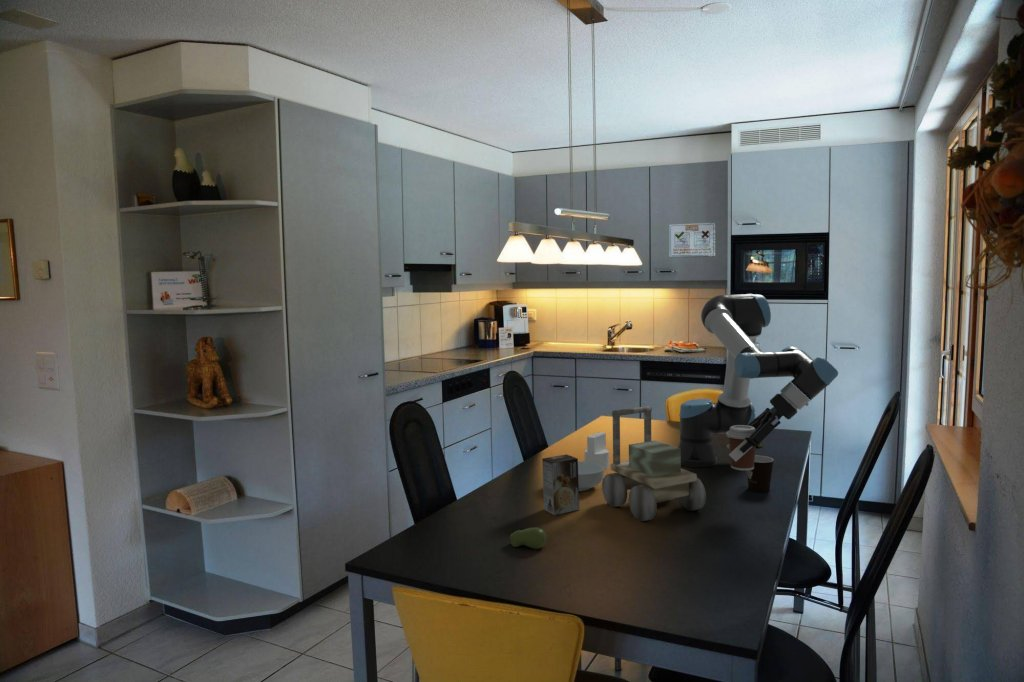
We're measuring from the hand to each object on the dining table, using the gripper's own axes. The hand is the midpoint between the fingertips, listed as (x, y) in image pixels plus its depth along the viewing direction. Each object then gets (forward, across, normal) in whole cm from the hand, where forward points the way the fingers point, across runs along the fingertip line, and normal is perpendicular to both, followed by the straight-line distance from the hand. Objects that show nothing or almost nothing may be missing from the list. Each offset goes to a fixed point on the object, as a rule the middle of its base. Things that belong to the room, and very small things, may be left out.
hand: (731, 453), depth 198 cm
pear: (+50, -38, +26) cm, 68 cm away
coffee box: (+47, -8, +23) cm, 53 cm away
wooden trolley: (+28, -2, +4) cm, 28 cm away
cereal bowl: (+46, +14, +22) cm, 52 cm away
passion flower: (+4, +80, -21) cm, 83 cm away
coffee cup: (+1, 0, -5) cm, 5 cm away
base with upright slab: (+43, +40, +19) cm, 62 cm away
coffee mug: (+5, +23, -20) cm, 31 cm away
